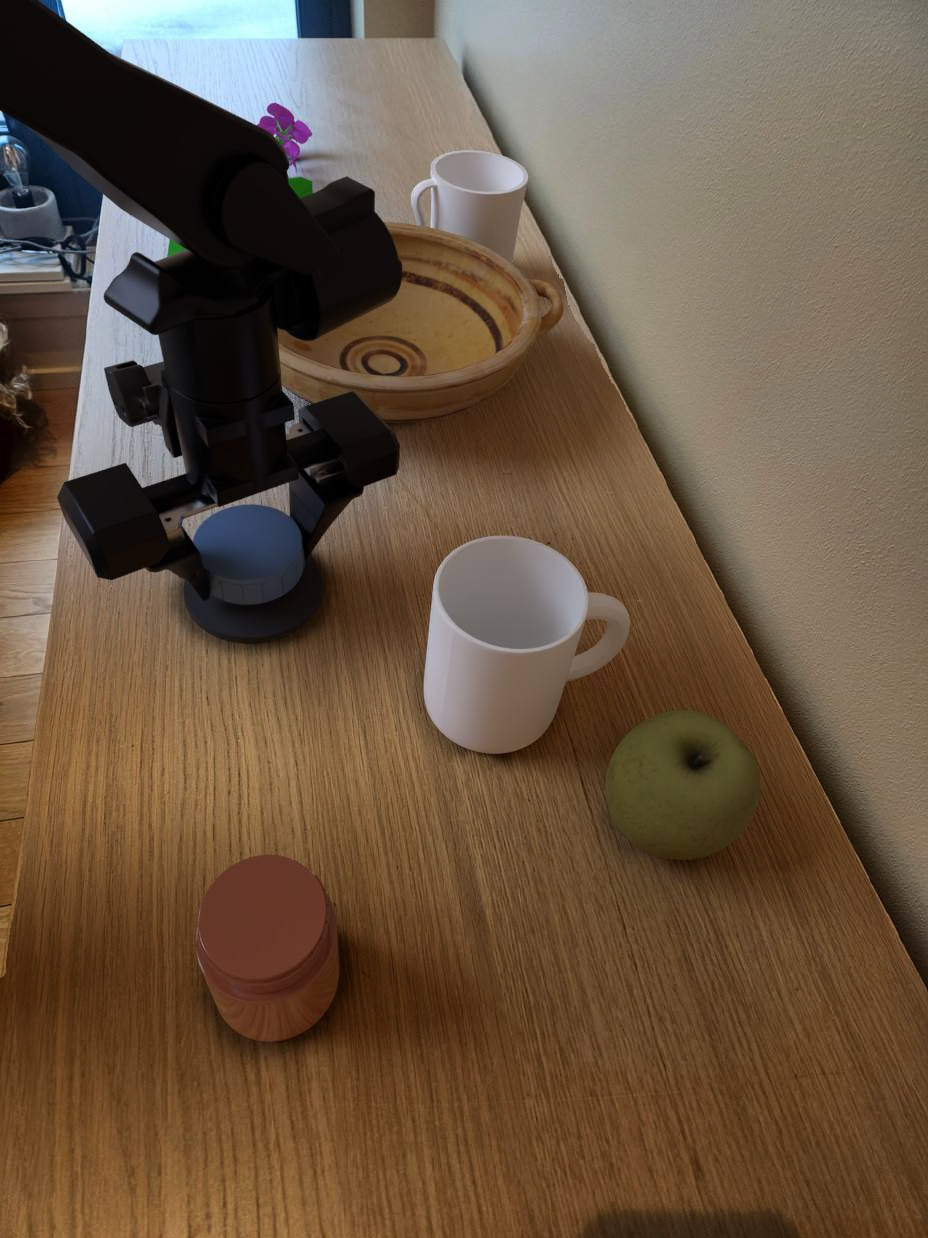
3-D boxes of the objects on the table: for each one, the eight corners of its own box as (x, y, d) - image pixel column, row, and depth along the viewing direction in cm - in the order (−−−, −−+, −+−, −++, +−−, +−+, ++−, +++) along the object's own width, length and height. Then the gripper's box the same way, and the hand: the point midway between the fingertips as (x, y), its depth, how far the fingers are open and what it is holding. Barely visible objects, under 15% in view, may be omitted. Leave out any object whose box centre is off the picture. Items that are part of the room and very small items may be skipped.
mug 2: (588, 634, 57) (625, 523, 49) (629, 740, 52) (678, 634, 44) (411, 655, 55) (420, 541, 47) (436, 768, 50) (451, 662, 42)
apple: (755, 858, 48) (805, 797, 43) (629, 902, 46) (666, 844, 40) (687, 746, 52) (725, 677, 47) (569, 781, 50) (595, 714, 45)
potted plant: (194, 351, 80) (249, 206, 104) (348, 275, 75) (368, 142, 99) (100, 228, 72) (184, 102, 96) (267, 134, 67) (311, 27, 91)
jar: (247, 1070, 39) (226, 1021, 33) (192, 956, 42) (164, 892, 36) (362, 994, 42) (362, 935, 35) (303, 892, 44) (294, 821, 38)
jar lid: (274, 516, 58) (272, 491, 57) (322, 580, 55) (321, 555, 53) (180, 551, 55) (174, 526, 54) (225, 620, 52) (220, 595, 50)
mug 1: (490, 251, 89) (503, 146, 81) (527, 296, 84) (545, 188, 76) (391, 264, 86) (394, 155, 78) (424, 311, 81) (431, 200, 73)
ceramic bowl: (503, 292, 84) (514, 210, 78) (600, 449, 70) (623, 364, 64) (192, 317, 77) (177, 228, 70) (229, 499, 62) (215, 407, 56)
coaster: (220, 664, 53) (218, 658, 53) (162, 571, 57) (160, 565, 57) (348, 608, 57) (348, 602, 56) (284, 525, 61) (284, 519, 61)
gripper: (311, 259, 52) (320, 460, 64) (-15, 335, 44) (65, 549, 56) (410, 354, 47) (399, 554, 58) (59, 461, 39) (129, 667, 51)
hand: (252, 575), depth 56 cm, fingers closed on jar lid, 6 cm apart
